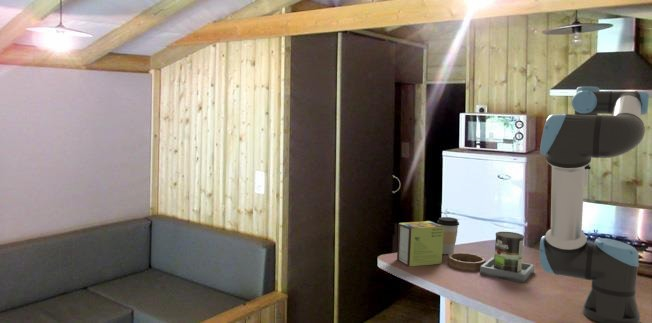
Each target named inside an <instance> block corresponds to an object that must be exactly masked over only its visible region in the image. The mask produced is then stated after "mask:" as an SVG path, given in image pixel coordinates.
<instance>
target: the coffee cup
mask: <svg viewBox="0 0 652 323" xmlns="http://www.w3.org/2000/svg"><path fill="white" fill-rule="evenodd" d="M458 220H459V219H457V218H455V217H449V216H442V217H439V218H438V220H437V221H436V224H439V225H441V226H444V231H443V249H442V255H446V254H448V255H450V254H452V253H455V252H454V251H455V248H456V243H457V236H458V227H459V225H460V222H459V221H458Z"/></svg>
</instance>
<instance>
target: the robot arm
mask: <svg viewBox="0 0 652 323" xmlns="http://www.w3.org/2000/svg"><path fill="white" fill-rule="evenodd" d="M649 97H650V94H649V93H648V92H647V91H639V90H633V91H631V90H630V91H628V90H627V91H623V90H622V91H621V90H620V91H617V90H616V91H614V90H613V91H612V90H611V91H609V90H607V91H605V90H604V91H603V90H602V91H601V90H600V88H599V87H598V86H578V87H577V88H576V91H575V94H574V95H573V97H572V99H571V106H572V108H573V110H574V114H572V113H571V114H570V113H569V114H567V113H563V114H562V113H559V114H556V113H555V114H554V113H553V114H550V115H548V117H547V118H546V120H545V122H544V126H543V130H542V134H541V141H540V147H539V154H540V155H543V156H545V160H546V163H547V164H548V165H550V166H551V188H550V189H551V196H550V198H551V199H550V201H551V202H550V203H551V204H550V205H551V206H550V229H548V230H547V231H546V232H545V235H542V237H540V241H539V262H540V265H541V269H542V270H543V271H544V272H546V273H548V274H553V275H555V276H564V277H570V278H576V279H580V280H585V281H586V280H587V281H591V287H590V291H589V292H588V295H587V297H586V299H585V300H584V303H583V305H582V314H583V315H584V317H587V318H588V319H590V320H592V321H595V322H597V323H640V321H641V315H640V311H639V310H640V309H639V306H638V303H637V298H636V292H637V278H638V267H639V266H640V263H639V251H638V250H637V248H635V247H634V246H632V245H630V244H628V243H625V242H623V241H619V240H616V239H610V238H603V237H598V238H595V240H594V242H592V241H588V240H587V236H586V234H585V233H584V232H583V231H582V229H583V211H584V210H583V207H584V193H585V192H584V189H585V188H587V187H588V179H589V178H588V174H589V170H591V167H592V166H590V163H591V161H592V158H595V159H596V158H597V159H608V158H614V157H618V156H622V155H624V154H626V153H629V152H630V151H631V150H633V149H635V148H636V147H637V146H638V145H640V143H641V142H642V141H643V139H644V136H645V133H646V132H645V131H646V130H645V129H646V128H645V123H644V121H643V120H642V118H641V117H642V116H643V115H646V114H647V113H648V110H649V109H648V108H649V100H650V98H649ZM600 114H601V115H600ZM608 114H609V115H608Z"/></svg>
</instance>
